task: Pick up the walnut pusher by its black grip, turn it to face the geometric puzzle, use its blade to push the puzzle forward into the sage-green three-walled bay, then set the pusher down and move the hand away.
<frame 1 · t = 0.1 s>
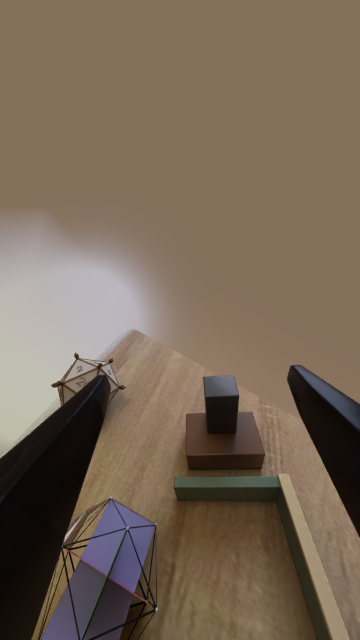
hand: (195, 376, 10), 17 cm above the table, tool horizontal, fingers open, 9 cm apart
geometric puzzle: (120, 583, 15), on the table
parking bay: (242, 587, 14), on the table
game die: (98, 405, 29), on the table
walnut pusher: (220, 437, 23), on the table
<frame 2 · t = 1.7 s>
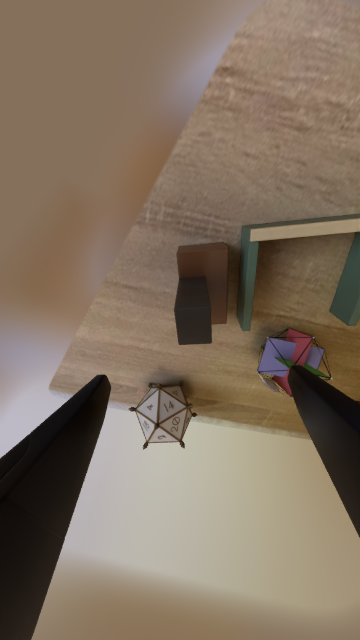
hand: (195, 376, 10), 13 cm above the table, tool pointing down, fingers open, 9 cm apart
geometric puzzle: (279, 342, 25), on the table
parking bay: (294, 272, 20), on the table
game die: (168, 387, 30), on the table
walnut pusher: (193, 281, 21), on the table
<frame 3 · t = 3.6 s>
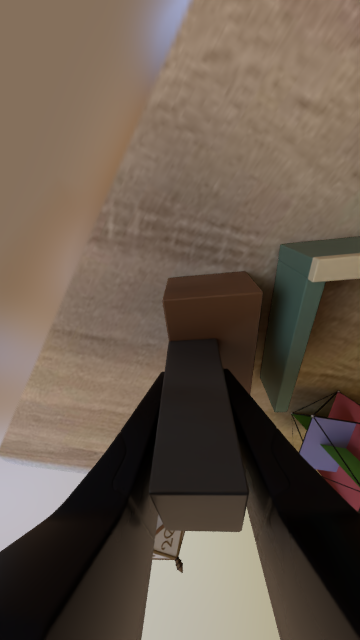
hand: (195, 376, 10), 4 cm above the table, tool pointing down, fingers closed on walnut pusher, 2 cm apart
geometric puzzle: (318, 406, 17), on the table
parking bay: (359, 317, 12), on the table
game die: (159, 454, 22), on the table
walnut pusher: (192, 330, 13), on the table, touching gripper
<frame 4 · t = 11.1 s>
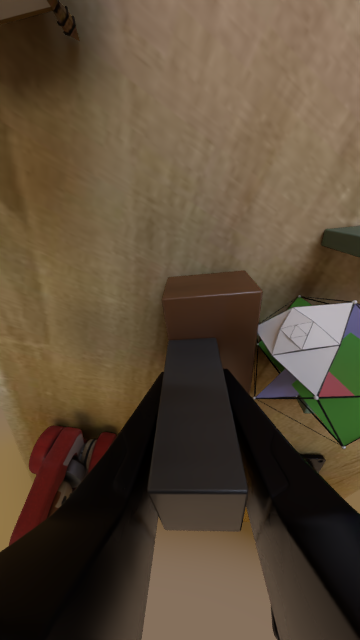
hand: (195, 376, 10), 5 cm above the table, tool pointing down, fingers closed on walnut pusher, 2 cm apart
toy fire truck: (88, 441, 22), on the table
geometric puzzle: (290, 326, 13), on the table, touching walnut pusher
walnut pusher: (192, 329, 13), point 1 cm above the table, touching geometric puzzle, gripper
when the fingers open (4 cm above the table, at t = 13.6 s): walnut pusher stays where it is, on the table.
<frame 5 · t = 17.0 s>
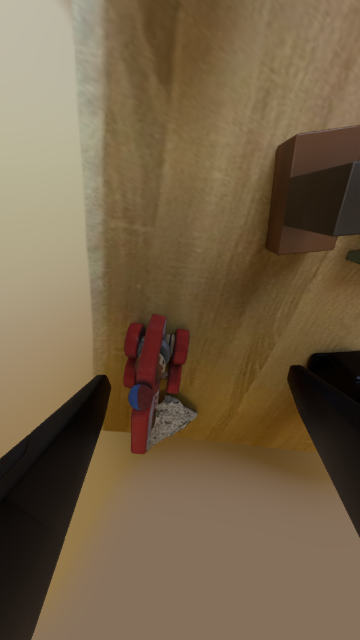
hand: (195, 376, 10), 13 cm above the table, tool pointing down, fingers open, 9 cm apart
toy fire truck: (158, 346, 26), on the table
walnut pusher: (285, 201, 17), on the table
rock sample: (171, 405, 32), on the table
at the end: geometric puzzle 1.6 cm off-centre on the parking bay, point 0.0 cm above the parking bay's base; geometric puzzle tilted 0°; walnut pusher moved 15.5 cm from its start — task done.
